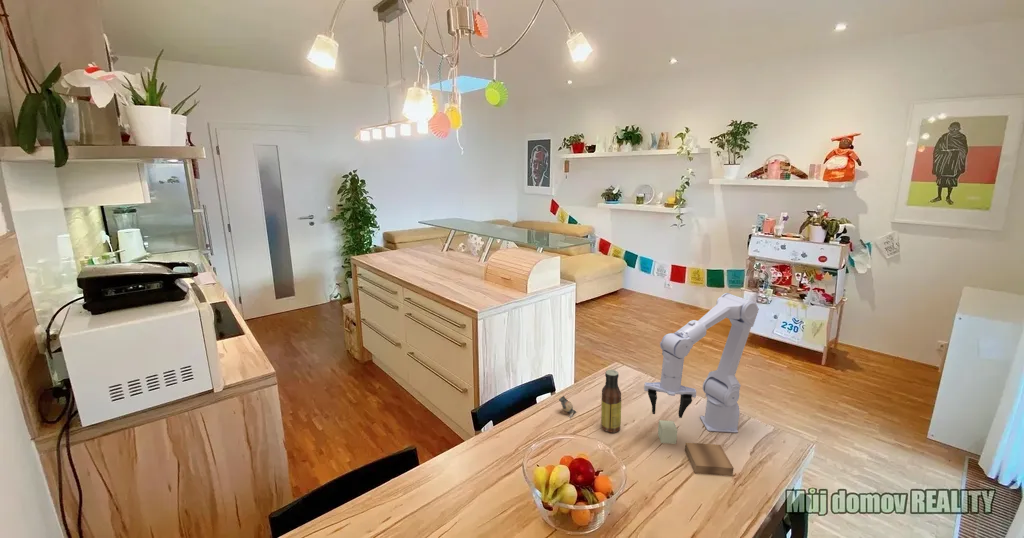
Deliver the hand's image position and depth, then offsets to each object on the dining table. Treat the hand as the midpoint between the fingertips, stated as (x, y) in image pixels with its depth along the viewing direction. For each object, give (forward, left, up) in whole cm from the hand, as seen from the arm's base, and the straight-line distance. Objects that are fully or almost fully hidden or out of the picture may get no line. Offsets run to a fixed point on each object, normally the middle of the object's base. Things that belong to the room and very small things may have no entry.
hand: (666, 414), depth 130 cm
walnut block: (-10, +8, -10) cm, 17 cm away
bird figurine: (+30, -13, -10) cm, 34 cm away
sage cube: (-1, -2, -10) cm, 10 cm away
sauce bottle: (+16, -6, -10) cm, 19 cm away
